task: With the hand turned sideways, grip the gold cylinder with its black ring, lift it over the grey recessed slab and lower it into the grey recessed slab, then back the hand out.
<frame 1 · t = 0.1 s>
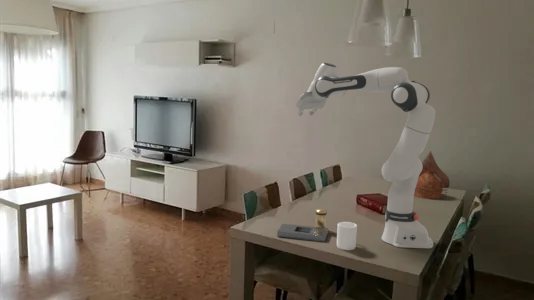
hand: (305, 114, 230), 54 cm above the table, tool tilted 30°, fingers open, 8 cm apart
gold cylinder: (320, 229, 213), on the table
cup: (346, 246, 192), on the table
decorative ornament: (427, 196, 288), on the table
grey recessed slab: (302, 234, 205), on the table
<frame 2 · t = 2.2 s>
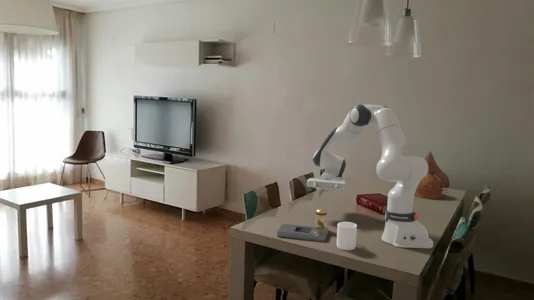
hand: (324, 187, 223), 18 cm above the table, tool horizontal, fingers open, 8 cm apart
nothing on the table moved.
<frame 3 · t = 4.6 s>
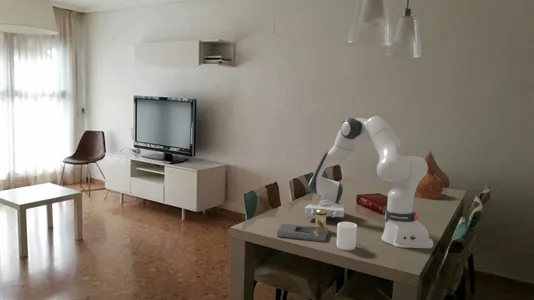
hand: (322, 214, 219), 5 cm above the table, tool horizontal, fingers open, 8 cm apart
nothing on the table moved.
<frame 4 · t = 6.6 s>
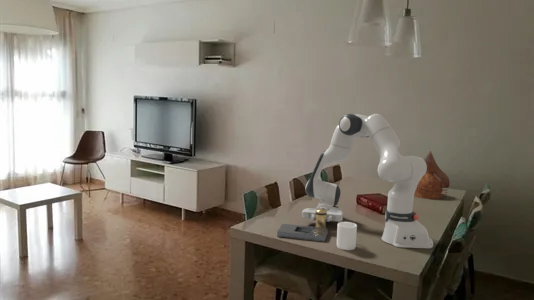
hand: (320, 219, 211), 6 cm above the table, tool horizontal, fingers closed on gold cylinder, 5 cm apart
gold cylinder: (320, 229, 213), on the table, touching gripper
everything else where it was.
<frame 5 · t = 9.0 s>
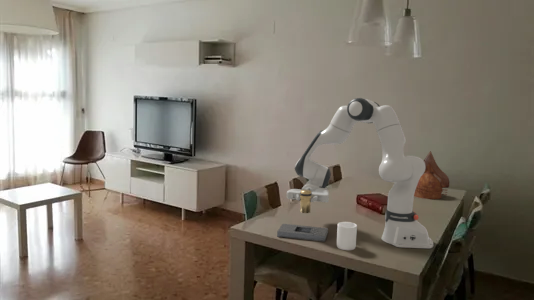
hand: (305, 199, 203), 17 cm above the table, tool horizontal, fingers closed on gold cylinder, 5 cm apart
gold cylinder: (305, 211, 205), point 11 cm above the table, touching gripper
everything else where it was.
when the fingers open (7 cm above the table, at t = 11.5 s): gold cylinder stays where it is, resting in grey recessed slab.
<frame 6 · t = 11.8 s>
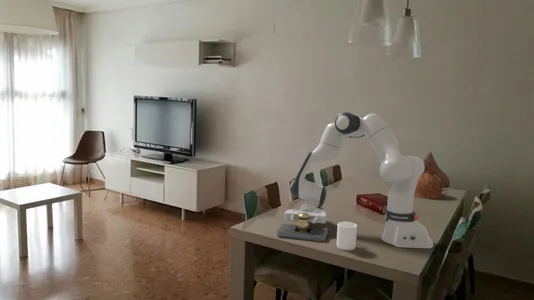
hand: (303, 221, 203), 7 cm above the table, tool horizontal, fingers open, 8 cm apart
gold cylinder: (302, 234, 205), resting in grey recessed slab
everything else where it was.
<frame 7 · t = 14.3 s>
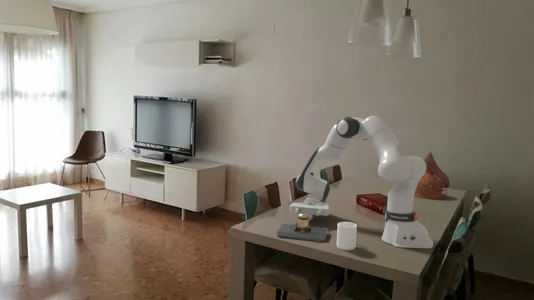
hand: (307, 213, 216), 7 cm above the table, tool horizontal, fingers open, 8 cm apart
nothing on the table moved.
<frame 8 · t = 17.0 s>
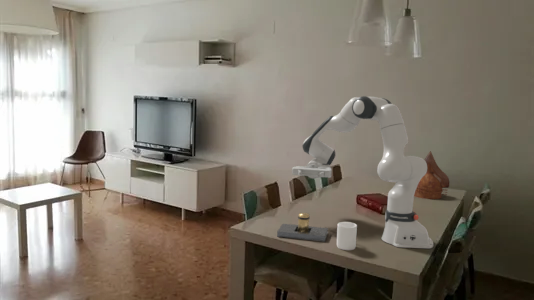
hand: (309, 174, 216), 26 cm above the table, tool horizontal, fingers open, 8 cm apart
nothing on the table moved.
at the end: gold cylinder 0.1 cm off-centre on the grey recessed slab, point 0.0 cm above the grey recessed slab's base; gold cylinder tilted 1°; the gripper is holding nothing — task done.
